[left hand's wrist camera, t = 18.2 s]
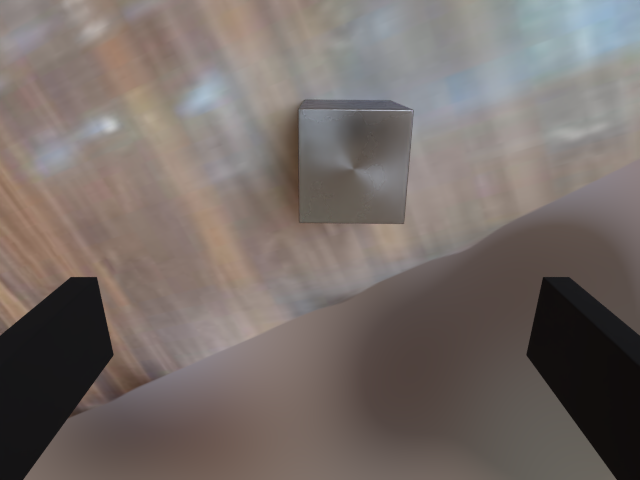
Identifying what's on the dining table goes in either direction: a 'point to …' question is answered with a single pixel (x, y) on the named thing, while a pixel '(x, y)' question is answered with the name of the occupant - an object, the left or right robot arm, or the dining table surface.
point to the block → (353, 161)
